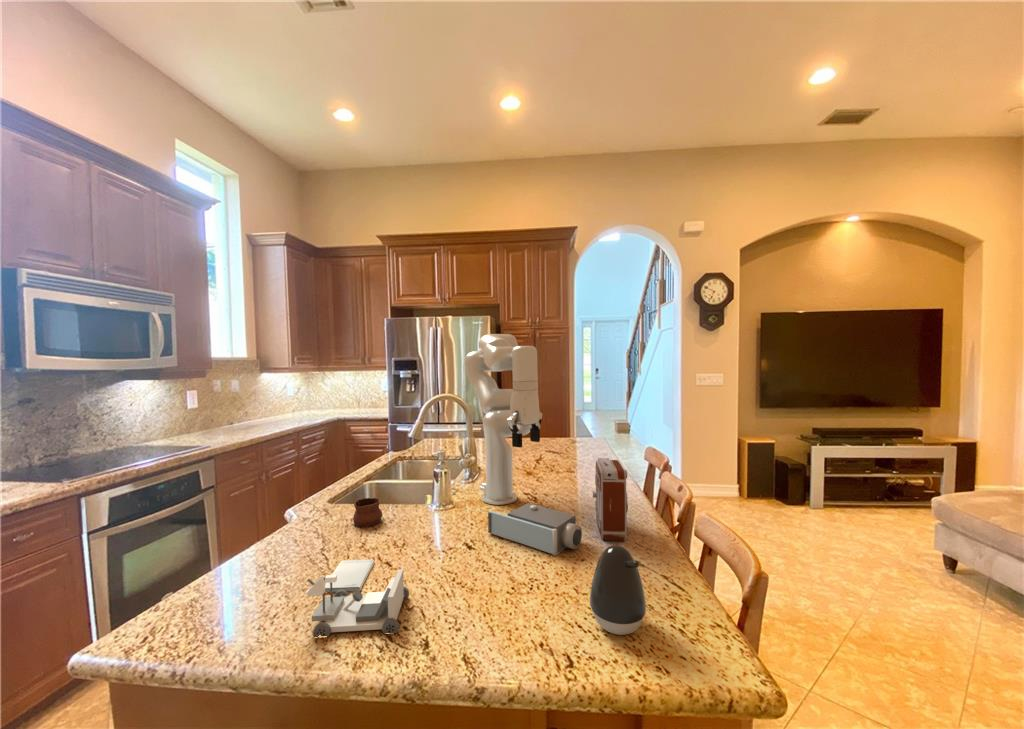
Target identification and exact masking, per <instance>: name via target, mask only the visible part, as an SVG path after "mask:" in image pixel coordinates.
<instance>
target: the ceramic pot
mask: <svg viewBox="0 0 1024 729" xmlns="http://www.w3.org/2000/svg"><path fill="white" fill-rule="evenodd" d="M380 503H381V499H380V498H378V497H377V498H376V497H372V498H371V497H367V498H366V497H365V498H360V499H357V500H355V502H353V505H354V509H355V511H354V514H353V516H352V521H353V524H354V525H355V527H357V528H371V527H374V526H377V525H379V524H380V523H381V521H382V518H383V511H382V510H381V509H380ZM336 526H337V527H336V530H339V529H338V527H340V525H339V524H337V525H336Z"/></svg>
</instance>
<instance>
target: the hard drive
mask: <svg viewBox="0 0 1024 729" xmlns="http://www.w3.org/2000/svg"><path fill="white" fill-rule="evenodd" d="M374 565H375V559H373V558H372V559H370V558H369V559H353V560H352V559H350V560H349V559H348V560H347V559H346V560H340V562H339V563H338V565H337V566H336V567H335V569H334V571H333V572H332V573H331V575H337V581H336V582H332V591H333V592H337V591H338V590H341V589H343V590H346V591H359V592H361V591H360V590H362V589H363V587H364V585H363V584H365V583H364V582H366V581H365V580H367V579H366V578H368V577H367V576H369V575H370V573H369V572H371V571H372V569H373V567H374ZM368 574H369V575H368ZM362 586H363V587H362ZM361 588H362V589H361ZM325 592H330V583H325Z"/></svg>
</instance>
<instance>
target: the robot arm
mask: <svg viewBox="0 0 1024 729" xmlns="http://www.w3.org/2000/svg"><path fill="white" fill-rule="evenodd" d="M478 349H479V350H474V351H471V352H469V353H467V354H466V356H465V358H464V369H465V373H466V377H467V379H468V381H469V382H470V384H471V385H472V387H473V388H474V389H475V393H476V396H477V399H478V401H479V406H480V408H481V410H482V411H483V414H484V415H483V418H482V428H483V434H484V443H485V482H482V483H481V485H479V490H480V491H483V492H484V493H483V494H482V496H481V499H482V502H484V503H485V504H489V505H494V506H495V505H496V506H502V505H508V504H509V505H510V504H512V503H514V502H516V501H517V500H518V494H517V493H516V492H514V487H513V486H514V482H513V480H514V479H513V476H514V474H513V473H514V472H513V470H514V468H513V466H514V465H513V460H514V458H513V448H514V447H515V448H522V447H523V436H526V435H528V434H529V437H530V439H529V440H530V442H533V443H534V442H535V443H539V442H541V433H540V432H541V430H540V429H541V424H542V418H543V412H541V411H540V400H539V394H538V392H539V388H538V387H539V384H538V383H539V381H538V380H539V379H538V376H539V375H538V351H537V347H535V346H534V345H519V344H518V340H517V338H516V337H515V335H512V334H510V333H488V334H485V335H483V336H481V338H479V341H478ZM504 371H512V388H499V386H498V384H497V382H496V380H495V379H494V378H493V377H492V376H491V375H489V374H488V373H489V372H492V373H493V372H495V373H496V372H504ZM509 437H510V438H511V442H512V443H511V444H512V445H510V443H509V442H508V441H507V439H506V438H509ZM512 447H513V448H512Z"/></svg>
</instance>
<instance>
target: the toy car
mask: <svg viewBox="0 0 1024 729" xmlns="http://www.w3.org/2000/svg"><path fill="white" fill-rule="evenodd" d="M323 576H324V575H322V574H321V575H320V576H319V577H318V578H317V579H316V580H315V581H314V582H313V581H312V579H310V578H308V579H307V582H309V584H311V586H309V588H308V589H307V591H306V592H305V593H304V594H305V595H307V596H312V597H318V596H319V597H320V596H322V600H321V602H320V603H319V604H318V606H317V608H316V609H315V610H314V612H313V614H312V615H311V622H318V623H317V624H316V625H315V627H314V628H313V631H312V636H313V638H314V637H318V636H319V635H321V636H328V637H330V634H331V633H342V632H357V631H358V632H359V631H371V630H372V631H373V630H374V631H375V630H382V633H383V634H384V635H385V633H396V634H398V632H399V629H400V622H399V621H398V617H399V614H400V610H401V607H402V604H403V601H406V600H408V599H409V595H410V590H409V588H407V587H406V586H404V568H399V569H398V570H397V572H396V575H395V577H394V576H391V578H390V581H389V582H388V585H386V588H385V591H372V592H366V594H362V592H361V591H355V592H352V595H351V594H349V593H350V592H347V591H346V590H343V589H341V590H338V591H337V592H336V593H333V591H332V582H336V581H337V575H332V574H326V576H325V577H323ZM326 583H330V593H329V594H330V597H328V596H327V597H326V596H325V595H326V593H325V584H326ZM333 594H334V595H333ZM323 621H325V622H323Z"/></svg>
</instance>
